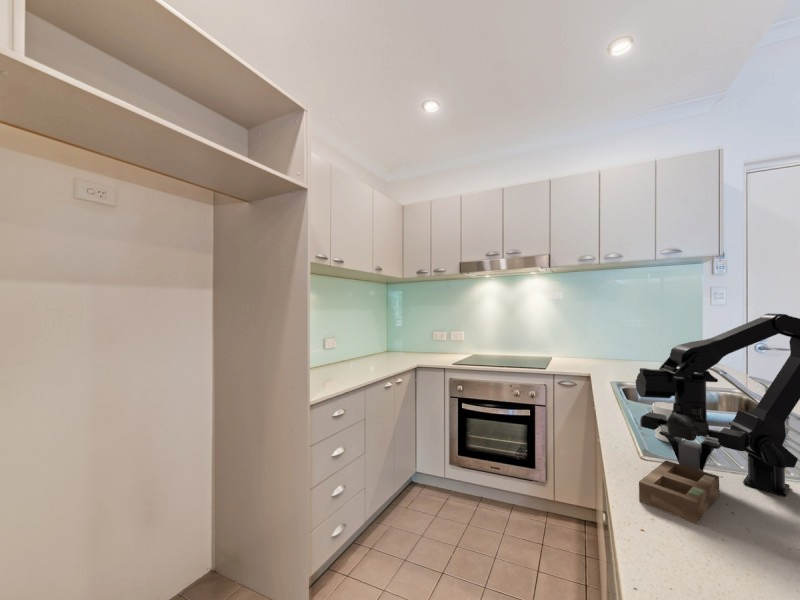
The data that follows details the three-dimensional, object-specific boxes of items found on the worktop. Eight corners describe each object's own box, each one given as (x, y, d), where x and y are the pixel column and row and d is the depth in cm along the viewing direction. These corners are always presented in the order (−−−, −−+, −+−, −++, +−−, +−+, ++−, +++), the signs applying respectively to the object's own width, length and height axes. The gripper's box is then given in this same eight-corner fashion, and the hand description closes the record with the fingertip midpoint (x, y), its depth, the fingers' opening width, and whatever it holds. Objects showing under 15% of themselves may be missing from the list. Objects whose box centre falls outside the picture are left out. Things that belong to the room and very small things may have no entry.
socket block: (666, 477, 81) (665, 459, 81) (719, 495, 74) (719, 474, 74) (639, 500, 72) (638, 480, 72) (697, 524, 64) (696, 500, 64)
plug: (684, 473, 83) (683, 439, 83) (703, 479, 80) (703, 444, 80) (679, 477, 81) (678, 443, 81) (698, 484, 78) (698, 448, 78)
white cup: (671, 433, 108) (670, 401, 108) (693, 444, 100) (693, 409, 100) (646, 434, 108) (646, 402, 108) (666, 444, 100) (666, 410, 100)
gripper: (630, 396, 84) (631, 461, 84) (737, 416, 69) (738, 495, 69) (648, 389, 90) (649, 449, 90) (748, 406, 75) (750, 478, 75)
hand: (691, 466), depth 81 cm, fingers closed on plug, 4 cm apart
